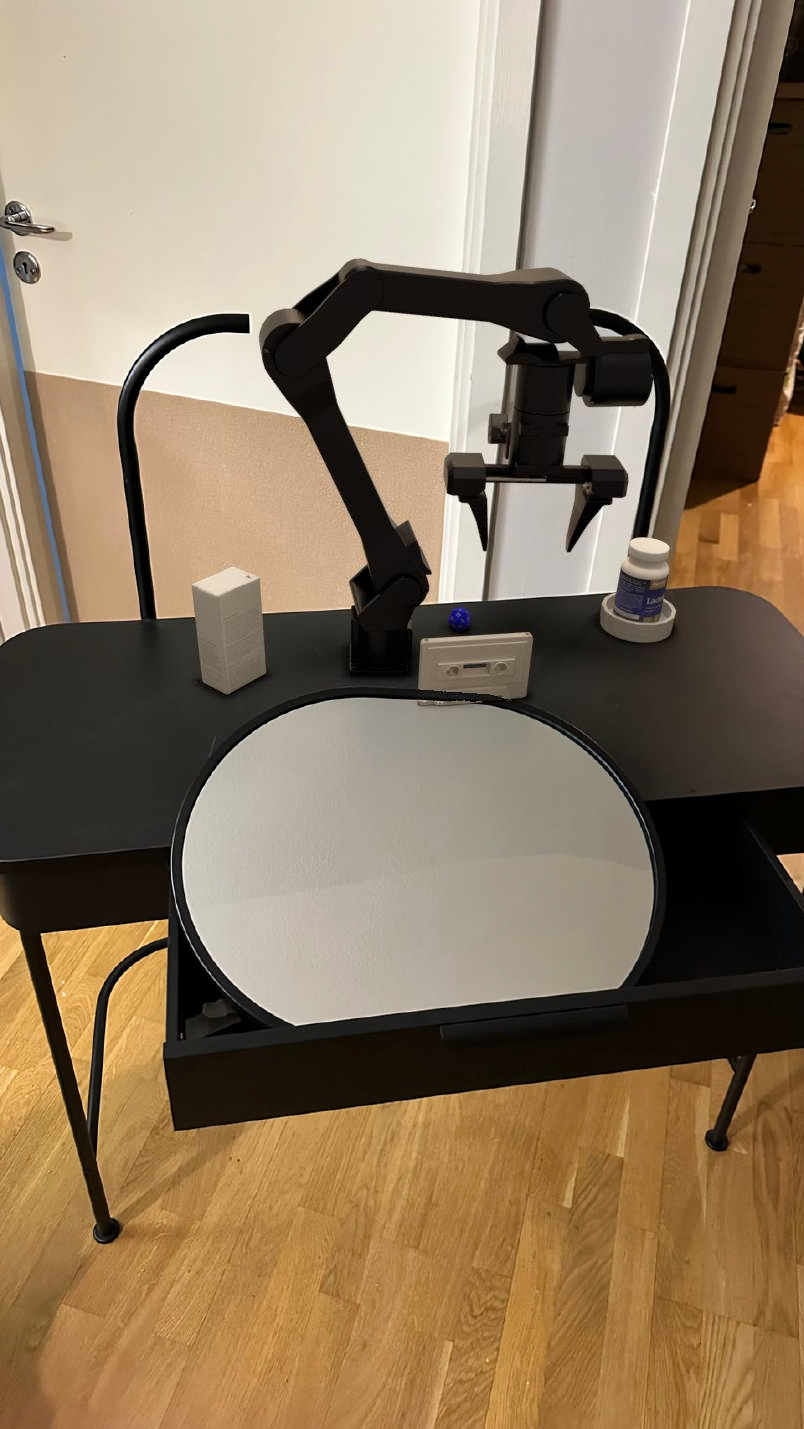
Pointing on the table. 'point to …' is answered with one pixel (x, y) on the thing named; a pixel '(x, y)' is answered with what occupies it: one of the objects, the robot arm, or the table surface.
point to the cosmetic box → (229, 629)
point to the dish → (636, 623)
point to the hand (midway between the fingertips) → (526, 550)
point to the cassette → (477, 649)
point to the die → (459, 618)
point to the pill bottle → (642, 581)
